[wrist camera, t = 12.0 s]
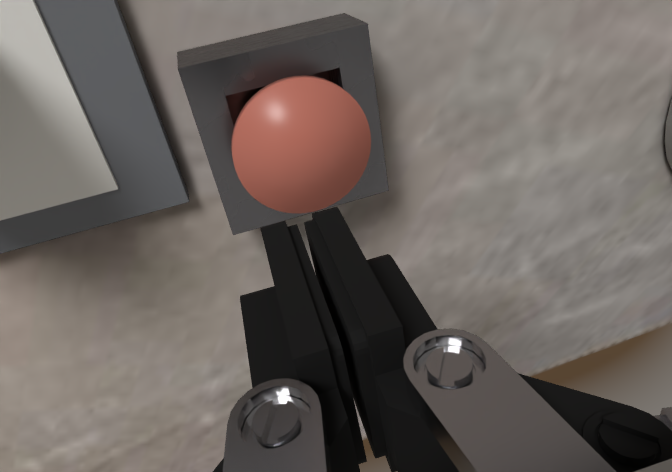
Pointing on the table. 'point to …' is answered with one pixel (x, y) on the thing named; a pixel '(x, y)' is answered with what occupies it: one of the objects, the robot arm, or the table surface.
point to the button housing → (262, 69)
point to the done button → (300, 144)
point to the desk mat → (76, 124)
